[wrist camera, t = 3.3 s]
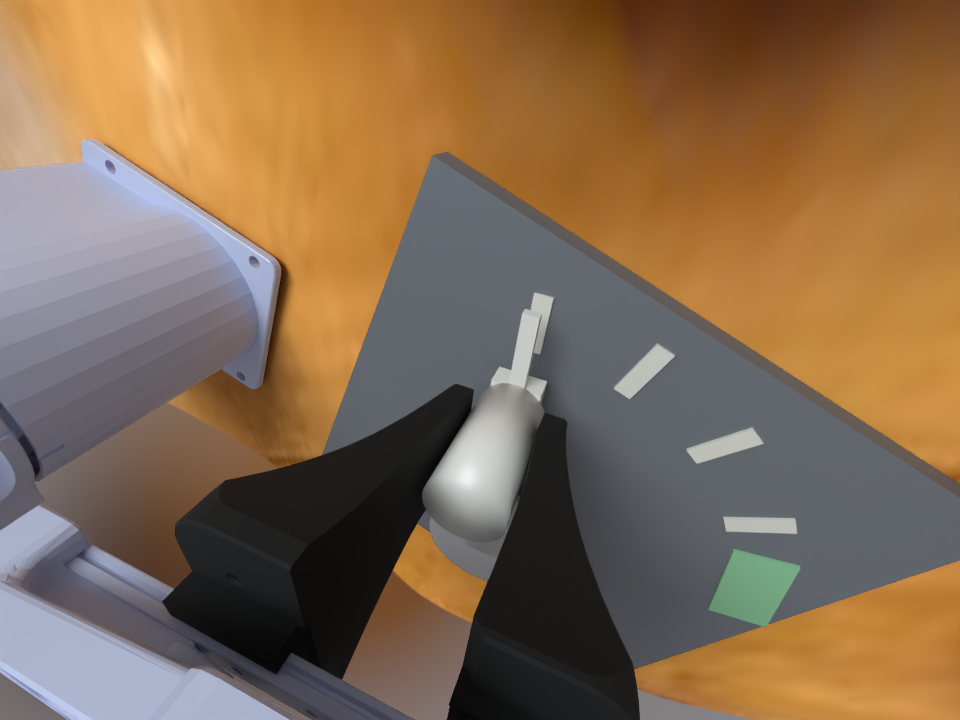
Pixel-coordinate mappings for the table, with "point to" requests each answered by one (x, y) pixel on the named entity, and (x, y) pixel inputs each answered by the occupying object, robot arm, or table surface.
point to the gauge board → (648, 426)
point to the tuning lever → (488, 463)
